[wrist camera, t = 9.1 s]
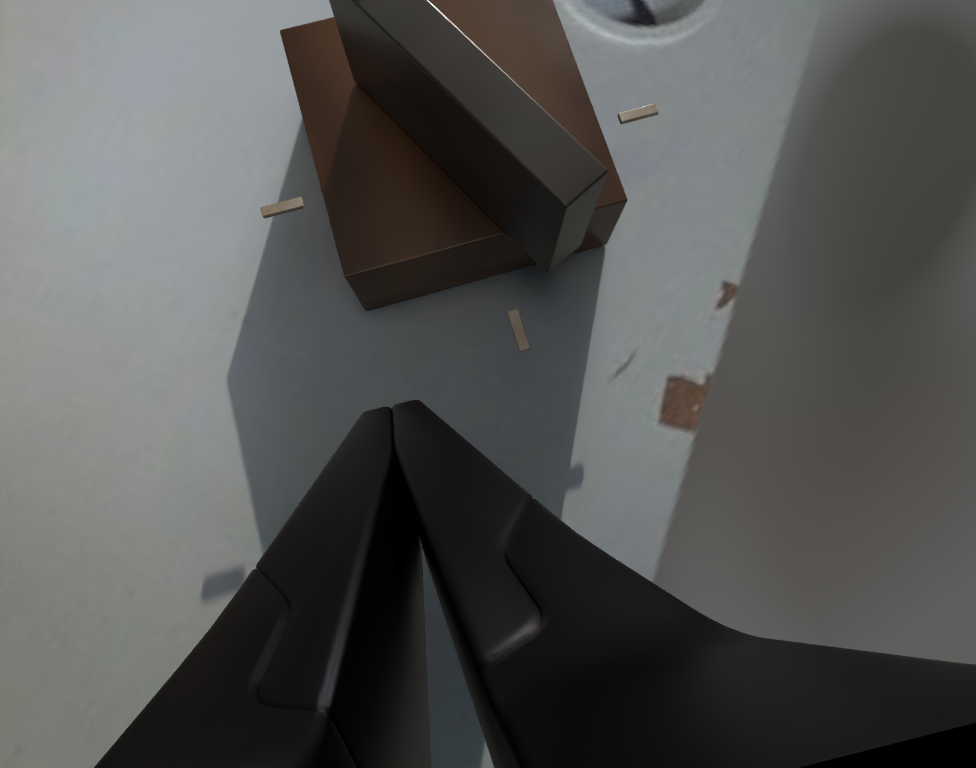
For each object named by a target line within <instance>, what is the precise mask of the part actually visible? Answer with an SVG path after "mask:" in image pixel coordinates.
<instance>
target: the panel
mask: <svg viewBox="0 0 976 768" xmlns="http://www.w3.org/2000/svg"><path fill="white" fill-rule="evenodd" d="M429 1H430V2H431V3H432V4H433V5H434V6H435V7H436V8H437V9H438V10H440V11H441V12H442V13H443V14H444V15H445V16H446V17H447V18H448V19H449V20H450V21H451V22H452V23H453V24H454V25H455V26H457V27H458V28H459V29H460V30H461V31H462V32H463V33H464V34H465V35H466V36H467V37H468V38H469V39H470V40H471V41H472V42H473V43H475V44H476V45H477V46H478V47H479V48H480V49H481V50H482V51H483V52H484V53H485V54H486V55H487V56H488V57H489V58H490V59H492V60H493V61H494V62H495V63H496V64H497V65H498V66H499V67H500V68H501V69H502V70H503V71H504V72H505V73H506V74H507V75H509V76H510V77H511V78H512V79H513V80H514V81H515V82H516V83H517V84H518V85H519V86H520V87H521V88H522V89H523V90H524V91H525V92H527V93H528V94H529V95H530V96H531V97H532V98H533V99H534V100H535V101H536V102H537V103H538V104H539V105H540V106H541V107H542V108H544V109H545V110H546V111H547V112H548V113H549V114H550V115H551V116H552V117H553V118H554V119H555V120H556V121H557V122H558V123H559V124H561V125H562V126H563V127H564V128H565V129H566V130H567V131H568V132H569V133H570V134H571V135H572V136H573V137H574V138H575V139H576V140H577V141H579V142H580V143H581V144H582V145H583V146H584V147H585V148H586V149H587V150H588V151H589V152H590V153H591V154H592V155H593V156H594V157H596V158H597V159H598V160H599V161H600V162H601V163H602V164H603V165H604V166H605V167H606V168H607V169H608V174H607V176H606V179H605V182H604V184H603V187H602V190H601V192H600V195H599V198H598V200H597V203H596V206H595V208H594V211H593V214H592V216H591V219H590V221H589V224H588V227H587V229H586V232H585V235H584V237H583V240H582V243H581V245H580V246H579V247H578V248H577V249H576V250H574V251H573V252H572V253H576V252H580V251H583V250H587V249H590V248H594V247H598V246H601V245H605V244H607V242H608V240H609V238H610V236H611V234H612V232H613V230H614V227H615V225H616V223H617V221H618V219H619V217H620V215H621V213H622V211H623V208H624V206H625V204H626V202H627V197H626V195H625V192H624V189H623V187H622V184H621V181H620V179H619V176H618V173H617V171H616V168H615V165H614V163H613V160H612V157H611V155H610V152H609V149H608V147H607V144H606V141H605V139H604V136H603V133H602V131H601V128H600V125H599V123H598V120H597V117H596V115H595V112H594V109H593V107H592V104H591V101H590V99H589V96H588V93H587V91H586V88H585V85H584V83H583V80H582V77H581V75H580V72H579V70H578V67H577V64H576V62H575V59H574V56H573V54H572V51H571V48H570V46H569V43H568V40H567V38H566V35H565V32H564V30H563V27H562V24H561V22H560V19H559V16H558V14H557V11H556V8H555V6H554V3H553V0H429ZM280 34H281V37H282V41H283V45H284V49H285V53H286V56H287V60H288V64H289V68H290V72H291V75H292V79H293V83H294V87H295V91H296V94H297V98H298V102H299V106H300V110H301V113H302V117H303V121H304V125H305V129H306V133H307V136H308V140H309V144H310V148H311V152H312V155H313V159H314V163H315V167H316V171H317V174H318V178H319V182H320V186H321V190H322V193H323V197H324V201H325V205H326V209H327V212H328V216H329V220H330V224H331V228H332V231H333V235H334V239H335V243H336V247H337V250H338V254H339V258H340V262H341V266H342V269H343V273H344V277H345V278H346V280H347V282H348V283H349V285H350V286H351V288H352V290H353V291H354V293H355V295H356V296H357V298H358V299H359V301H360V303H361V304H362V306H363V308H364V309H365V310H366V311H367V310H371V309H374V308H378V307H381V306H385V305H389V304H392V303H396V302H399V301H403V300H407V299H410V298H414V297H417V296H421V295H425V294H428V293H432V292H435V291H439V290H443V289H446V288H450V287H453V286H457V285H461V284H464V283H468V282H472V281H475V280H479V279H482V278H486V277H490V276H493V275H497V274H500V273H504V272H508V271H511V270H515V269H518V268H522V267H526V266H529V265H533V264H536V262H535V261H534V260H533V259H532V258H531V257H530V256H529V255H528V254H527V253H526V252H525V251H524V250H523V249H522V248H521V247H520V246H519V245H518V244H517V243H516V242H515V241H514V240H513V239H512V238H511V237H510V236H509V235H508V234H507V233H506V232H505V231H504V230H503V229H502V228H501V227H500V226H499V225H498V224H497V223H496V222H495V221H494V220H493V219H492V218H491V217H490V216H489V215H488V214H487V213H486V212H485V211H484V210H483V209H482V208H481V207H480V206H479V205H478V204H477V203H476V202H475V201H474V200H473V199H472V198H471V197H470V196H469V195H468V194H467V193H466V192H465V191H464V190H463V189H462V188H461V187H460V186H459V185H458V184H457V183H456V182H455V181H454V180H453V179H452V178H451V177H450V176H449V175H448V174H447V173H446V172H445V171H444V170H443V169H442V168H441V167H440V166H439V165H438V164H437V163H436V162H435V161H434V160H433V159H432V158H431V157H430V156H429V155H428V154H427V153H426V152H425V151H424V150H423V149H422V148H421V147H420V146H419V145H418V144H417V143H416V142H415V141H414V140H413V139H412V138H411V137H410V136H409V135H408V134H407V133H406V132H405V131H404V130H403V129H402V128H401V127H400V126H399V125H398V124H397V123H396V122H395V121H394V120H393V119H392V118H391V117H390V116H389V115H388V114H387V113H386V112H385V111H384V110H383V109H382V108H381V107H380V106H379V105H378V104H377V103H376V102H375V101H374V100H373V99H372V98H371V97H370V96H369V95H368V94H367V93H366V92H365V91H364V90H363V89H362V88H361V87H360V86H359V85H358V84H357V83H356V82H355V81H354V79H353V76H352V73H351V69H350V66H349V63H348V60H347V56H346V53H345V50H344V47H343V43H342V40H341V37H340V34H339V30H338V27H337V24H336V21H335V17H332V18H328V19H324V20H320V21H316V22H312V23H308V24H304V25H300V26H295V27H291V28H287V29H283V30H280ZM658 113H659V111H658V108H657V106H656V104H652V105H648V106H644V107H640V108H637V109H633V110H629V111H625V112H621V113H618V119H619V121H620V124H624V123H628V122H632V121H636V120H639V119H643V118H647V117H651V116H655V115H658ZM302 208H304V204H303V200H302V198H301V197H298V198H294V199H290V200H286V201H283V202H279V203H275V204H271V205H267V206H263V207H261V212H262V216H263V217H264V218H268V217H272V216H276V215H280V214H283V213H287V212H291V211H295V210H298V209H302ZM572 253H571V254H572ZM507 315H508V318H509V321H510V324H511V327H512V330H513V334H514V337H515V340H516V343H517V346H518V349H519V352H522V351H526V350H529V349H530V346H529V343H528V339H527V336H526V333H525V330H524V327H523V324H522V321H521V318H520V315H519V311H518V309H514V310H511V311H507Z"/></svg>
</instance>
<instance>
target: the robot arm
mask: <svg viewBox="0 0 976 768" xmlns="http://www.w3.org/2000/svg"><path fill="white" fill-rule="evenodd" d="M420 540H421V543H422V547H423V550H424V554H425V557H426V561H427V564H428V567H429V570H430V573H431V576H432V579H433V582H434V585H435V588H436V591H437V594H438V597H439V600H440V603H441V606H442V610H443V613H444V616H445V619H446V622H447V625H448V628H449V631H450V634H451V637H452V640H453V643H454V646H455V649H456V652H457V655H458V658H459V661H460V664H461V667H462V670H463V674H464V677H465V680H466V683H467V686H468V689H469V692H470V695H471V698H472V701H473V704H474V707H475V710H476V713H477V716H478V719H479V722H480V725H481V728H482V731H483V734H484V738H485V741H486V744H487V747H488V750H489V753H490V756H491V759H492V762H493V765H494V768H976V665H974V664H963V663H955V662H948V661H940V660H932V659H923V658H915V657H907V656H900V655H893V654H885V653H877V652H869V651H860V650H853V649H845V648H837V647H829V646H822V645H814V644H805V643H798V642H790V641H783V640H774V639H766V638H761V637H755V636H752V635H748V634H745V633H742V632H739V631H737V630H734V629H731V628H728V627H726V626H724V625H722V624H720V623H718V622H716V621H714V620H712V619H710V618H708V617H706V616H705V615H703V614H701V613H699V612H698V611H696V610H694V609H693V608H691V607H690V606H688V605H686V604H685V603H683V602H682V601H680V600H679V599H677V598H675V597H674V596H672V595H671V594H669V593H668V592H666V591H665V590H663V589H661V588H660V587H658V586H657V585H655V584H654V583H652V582H651V581H649V580H647V579H646V578H644V577H643V576H641V575H640V574H638V573H637V572H635V571H633V570H632V569H630V568H629V567H627V566H626V565H624V564H622V563H621V562H619V561H618V560H616V559H615V558H613V557H612V556H610V555H608V554H607V553H606V552H604V551H603V550H601V549H600V548H598V547H597V546H595V545H594V544H592V543H591V542H589V541H588V540H586V539H585V538H583V537H582V536H581V535H579V534H578V533H576V532H575V531H574V530H572V529H571V528H570V527H569V526H567V525H566V524H565V523H564V522H562V521H561V520H560V519H558V518H557V517H556V516H555V515H553V514H552V513H551V512H550V511H549V510H548V509H546V508H545V507H544V506H543V505H542V504H541V503H539V502H538V501H537V500H536V499H533V498H532V496H531V495H530V494H529V493H527V492H526V491H525V490H524V489H523V488H522V487H520V486H519V485H518V484H517V483H516V482H514V481H513V480H512V479H511V478H510V477H509V476H507V475H506V474H505V473H504V472H503V471H502V470H500V469H499V468H498V467H497V466H496V465H495V464H493V463H492V462H491V461H490V460H489V459H488V458H486V457H485V456H484V455H483V454H482V453H481V452H479V451H478V450H477V449H476V448H475V447H473V446H472V445H471V444H470V443H469V442H468V441H466V440H465V439H464V438H463V437H462V436H461V435H459V434H458V433H457V432H456V431H455V430H454V429H452V428H451V427H450V426H449V425H448V424H447V423H445V422H444V421H443V420H442V419H441V418H440V417H438V416H437V415H436V414H435V413H434V412H432V411H431V410H430V409H429V408H428V407H427V406H425V405H424V404H423V403H422V402H421V401H419V400H412V401H408V402H404V403H400V404H396V405H394V406H393V408H392V409H391V408H390V407H382V408H378V409H374V410H369V411H366V412H364V413H363V414H362V415H361V416H360V418H359V419H358V421H357V422H356V423H355V425H354V426H353V428H352V429H351V431H350V432H349V433H348V435H347V436H346V438H345V439H344V441H343V442H342V443H341V445H340V446H339V448H338V449H337V451H336V452H335V453H334V455H333V456H332V458H331V459H330V461H329V462H328V463H327V465H326V466H325V468H324V469H323V471H322V472H321V473H320V475H319V476H318V478H317V479H316V481H315V482H314V483H313V485H312V486H311V488H310V489H309V491H308V492H307V493H306V495H305V496H304V498H303V499H302V501H301V502H300V503H299V505H298V506H297V508H296V509H295V511H294V512H293V513H292V515H291V516H290V518H289V519H288V521H287V522H286V523H285V525H284V526H283V528H282V529H281V531H280V532H279V533H278V535H277V536H276V538H275V539H274V541H273V542H272V543H271V545H270V546H269V548H268V549H267V551H266V552H265V553H264V555H263V556H262V558H261V559H260V561H259V562H258V563H257V565H256V568H257V569H254V570H252V572H251V573H250V574H249V576H248V577H247V579H246V580H245V582H244V583H243V584H242V586H241V587H240V589H239V590H238V592H237V593H236V594H235V596H234V597H233V598H232V600H231V601H230V602H229V604H228V605H227V606H226V608H225V609H224V611H223V612H222V613H221V615H220V616H219V617H218V619H217V620H216V621H215V623H214V624H213V625H212V627H211V628H210V629H209V631H208V632H207V633H206V634H205V635H204V637H203V638H202V639H201V640H200V642H199V643H198V644H197V645H196V647H195V648H194V649H193V650H192V652H191V653H190V654H189V655H188V656H187V658H186V659H185V660H184V661H183V663H182V664H181V665H180V666H179V668H178V669H177V670H176V671H175V672H174V674H173V675H172V676H171V677H170V678H169V679H168V681H167V682H166V683H165V684H164V685H163V687H162V688H161V689H160V690H159V691H158V692H157V694H156V695H155V696H154V697H153V698H152V700H151V701H150V702H149V703H148V704H147V705H146V707H145V708H144V709H143V710H142V711H141V713H140V714H139V715H138V716H137V717H136V718H135V720H134V721H133V722H132V723H131V724H130V726H129V727H128V728H127V729H126V730H125V732H124V733H123V734H122V735H121V736H120V737H119V739H118V740H117V741H116V742H115V743H114V745H113V746H112V747H111V748H110V749H109V750H108V752H107V753H106V754H105V755H104V756H103V758H102V759H101V760H100V761H99V762H98V763H97V765H96V766H95V767H94V768H431V758H430V734H429V711H428V687H427V663H426V640H425V616H424V592H423V569H422V552H421V543H420Z"/></svg>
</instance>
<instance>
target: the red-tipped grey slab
mask: <svg viewBox="0 0 976 768" xmlns="http://www.w3.org/2000/svg"><path fill="white" fill-rule="evenodd" d="M329 1H330V4H331V8H332V11H333V14H334V17H335V21H336V24H337V27H338V30H339V34H340V37H341V40H342V43H343V47H344V50H345V53H346V56H347V60H348V63H349V66H350V69H351V73H352V76H353V79H354V81H355V82H356V83H357V84H358V85H359V86H360V87H361V88H362V89H363V90H364V91H365V92H366V93H367V94H368V95H369V96H370V97H371V98H372V99H373V100H374V101H375V102H376V103H377V104H378V105H379V106H380V107H381V108H382V109H383V110H384V111H385V112H386V113H387V114H388V115H389V116H390V117H391V118H392V119H393V120H394V121H395V122H396V123H397V124H398V125H399V126H400V127H401V128H402V129H403V130H404V131H405V132H406V133H407V134H408V135H409V136H410V137H411V138H412V139H413V140H414V141H415V142H416V143H417V144H418V145H419V146H420V147H421V148H422V149H423V150H424V151H425V152H426V153H427V154H428V155H429V156H430V157H431V158H432V159H433V160H434V161H435V162H436V163H437V164H438V165H439V166H440V167H441V168H442V169H443V170H444V171H445V172H446V173H447V174H448V175H449V176H450V177H451V178H452V179H453V180H454V181H455V182H456V183H457V184H458V185H459V186H460V187H461V188H462V189H463V190H464V191H465V192H466V193H467V194H468V195H469V196H470V197H471V198H472V199H473V200H474V201H475V202H476V203H477V204H478V205H479V206H480V207H481V208H482V209H483V210H484V211H485V212H486V213H487V214H488V215H489V216H490V217H491V218H492V219H493V220H494V221H495V222H496V223H497V224H498V225H499V226H500V227H501V228H502V229H503V230H504V231H505V232H506V233H507V234H508V235H509V236H510V237H511V238H512V239H513V240H514V241H515V242H516V243H517V244H518V245H519V246H520V247H521V248H522V249H523V250H524V251H525V252H526V253H527V254H528V255H529V256H530V257H531V258H532V259H533V260H534V261H535V262H536V263H537V264H538V265H539V266H540V267H541V268H542V269H543V270H544V271H545V272H546V273H550V272H551V271H552V270H553V269H554V268H555V267H556V266H558V265H559V264H560V263H561V262H562V261H563V260H564V259H565V258H567V257H568V256H569V255H570V254H571V253H572V252H573V251H574V250H576V249H577V248H578V247H579V246H580V245H581V243H582V240H583V237H584V235H585V232H586V229H587V227H588V224H589V221H590V219H591V216H592V214H593V211H594V208H595V206H596V203H597V200H598V198H599V195H600V192H601V190H602V187H603V184H604V182H605V179H606V176H607V174H608V169H607V168H606V167H605V166H604V165H603V164H602V163H601V162H600V161H599V160H598V159H597V158H596V157H594V156H593V155H592V154H591V153H590V152H589V151H588V150H587V149H586V148H585V147H584V146H583V145H582V144H581V143H580V142H579V141H577V140H576V139H575V138H574V137H573V136H572V135H571V134H570V133H569V132H568V131H567V130H566V129H565V128H564V127H563V126H562V125H561V124H559V123H558V122H557V121H556V120H555V119H554V118H553V117H552V116H551V115H550V114H549V113H548V112H547V111H546V110H545V109H544V108H542V107H541V106H540V105H539V104H538V103H537V102H536V101H535V100H534V99H533V98H532V97H531V96H530V95H529V94H528V93H527V92H525V91H524V90H523V89H522V88H521V87H520V86H519V85H518V84H517V83H516V82H515V81H514V80H513V79H512V78H511V77H510V76H509V75H507V74H506V73H505V72H504V71H503V70H502V69H501V68H500V67H499V66H498V65H497V64H496V63H495V62H494V61H493V60H492V59H490V58H489V57H488V56H487V55H486V54H485V53H484V52H483V51H482V50H481V49H480V48H479V47H478V46H477V45H476V44H475V43H473V42H472V41H471V40H470V39H469V38H468V37H467V36H466V35H465V34H464V33H463V32H462V31H461V30H460V29H459V28H458V27H457V26H455V25H454V24H453V23H452V22H451V21H450V20H449V19H448V18H447V17H446V16H445V15H444V14H443V13H442V12H441V11H440V10H438V9H437V8H436V7H435V6H434V5H433V4H432V3H431V2H430V1H429V0H329Z"/></svg>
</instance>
